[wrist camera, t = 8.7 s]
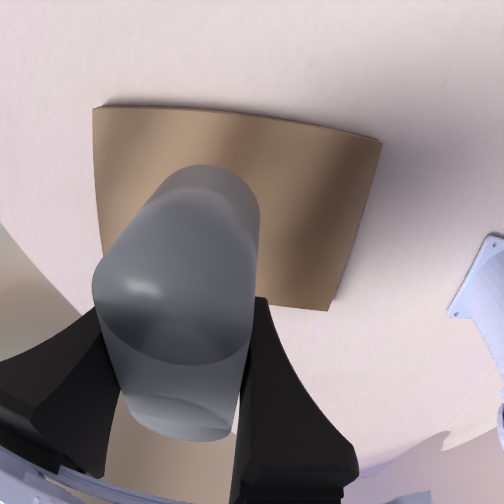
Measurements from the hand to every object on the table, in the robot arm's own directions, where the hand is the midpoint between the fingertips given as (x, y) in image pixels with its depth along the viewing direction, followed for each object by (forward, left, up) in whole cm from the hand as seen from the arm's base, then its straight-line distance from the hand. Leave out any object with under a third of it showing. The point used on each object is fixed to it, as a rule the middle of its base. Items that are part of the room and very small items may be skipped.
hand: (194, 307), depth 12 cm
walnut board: (0, 0, -8) cm, 8 cm away
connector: (0, +1, -1) cm, 2 cm away
